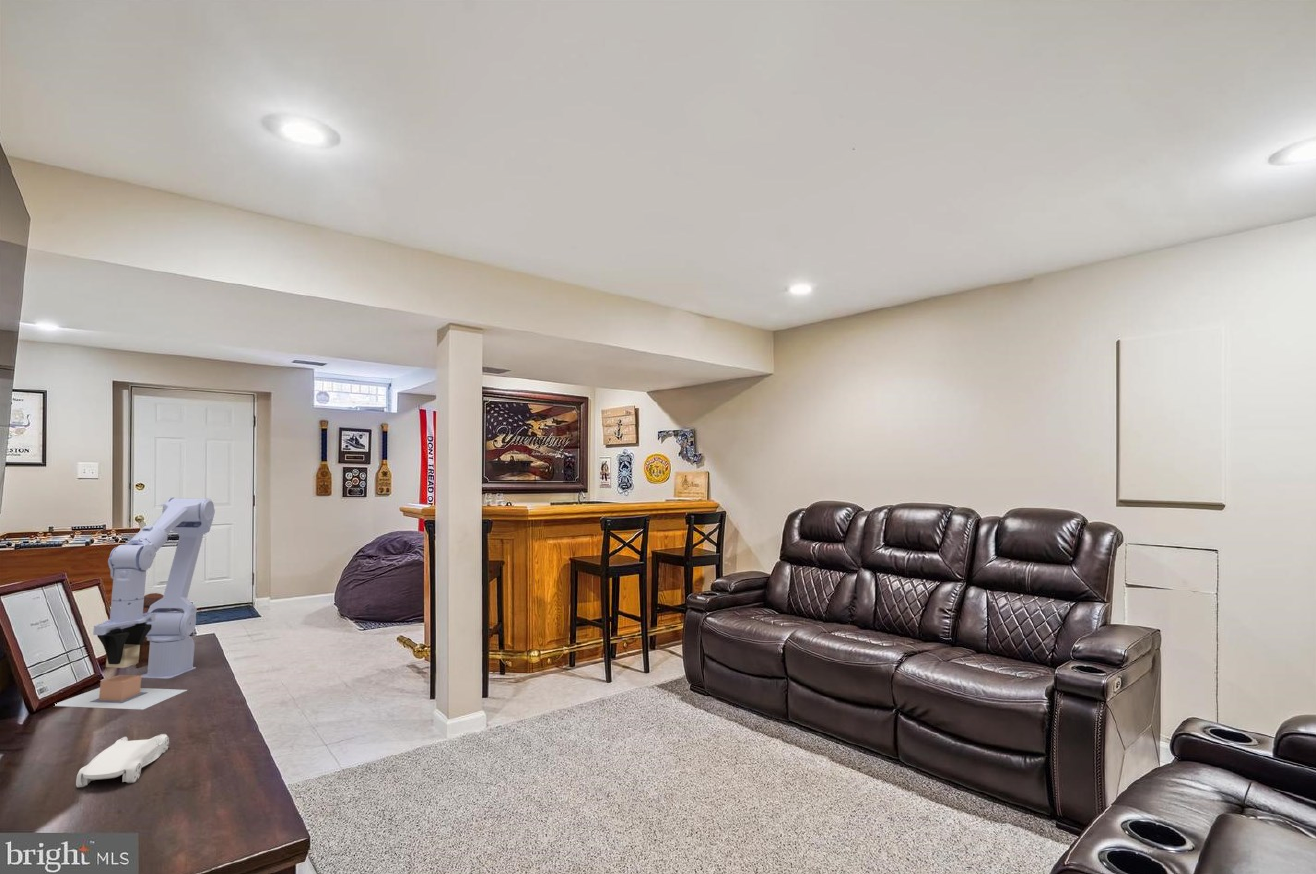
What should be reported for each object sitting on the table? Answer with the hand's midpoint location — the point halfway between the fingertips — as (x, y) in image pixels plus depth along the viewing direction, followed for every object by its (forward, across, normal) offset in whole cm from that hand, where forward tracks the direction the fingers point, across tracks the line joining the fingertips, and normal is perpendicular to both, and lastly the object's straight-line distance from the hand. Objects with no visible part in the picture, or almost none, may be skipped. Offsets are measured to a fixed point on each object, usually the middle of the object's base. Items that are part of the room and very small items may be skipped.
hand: (122, 661), depth 147 cm
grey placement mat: (+8, 0, 0) cm, 8 cm away
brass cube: (+1, 0, 0) cm, 1 cm away
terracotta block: (+8, 0, 0) cm, 8 cm away
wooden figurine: (+9, +28, +16) cm, 33 cm away
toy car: (+9, -32, -28) cm, 44 cm away
